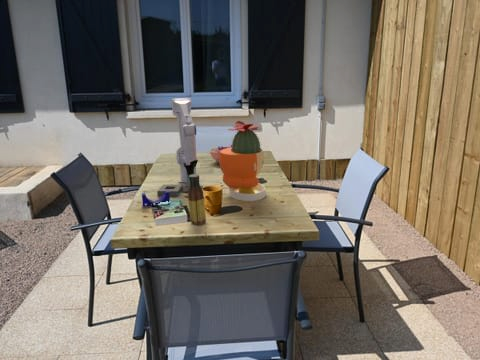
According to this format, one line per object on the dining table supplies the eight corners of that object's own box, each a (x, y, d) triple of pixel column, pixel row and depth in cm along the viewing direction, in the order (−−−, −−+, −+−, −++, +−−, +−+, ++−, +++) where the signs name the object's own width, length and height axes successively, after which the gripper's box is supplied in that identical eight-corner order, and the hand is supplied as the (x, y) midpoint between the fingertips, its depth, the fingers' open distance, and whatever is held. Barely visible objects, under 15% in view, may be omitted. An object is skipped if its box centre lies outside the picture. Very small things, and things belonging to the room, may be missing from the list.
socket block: (163, 189, 209) (163, 184, 208) (182, 189, 208) (182, 184, 207) (157, 196, 199) (157, 191, 198) (177, 196, 198) (177, 191, 197)
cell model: (211, 159, 268) (210, 142, 265) (242, 159, 267) (241, 142, 264) (208, 166, 252) (207, 148, 249) (241, 165, 251) (240, 147, 248)
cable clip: (168, 201, 192) (167, 189, 190) (170, 204, 188) (169, 191, 186) (142, 204, 188) (141, 192, 187) (143, 207, 184) (142, 195, 182)
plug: (188, 181, 208) (187, 165, 206) (196, 181, 208) (195, 165, 206) (187, 183, 204) (186, 167, 202) (194, 183, 204) (194, 167, 202)
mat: (185, 186, 212) (185, 185, 212) (202, 187, 211) (202, 185, 211) (181, 192, 203) (181, 191, 203) (199, 192, 203) (199, 191, 202)
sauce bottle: (206, 219, 168) (204, 172, 163) (205, 225, 162) (203, 177, 157) (190, 220, 168) (187, 173, 162) (189, 226, 162) (186, 177, 156)
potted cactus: (254, 185, 212) (253, 117, 202) (273, 198, 192) (273, 123, 182) (214, 191, 204) (211, 120, 195) (229, 205, 185) (227, 127, 175)
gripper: (185, 145, 209) (186, 171, 212) (178, 152, 195) (180, 179, 199) (199, 145, 208) (200, 171, 212) (193, 152, 194) (194, 179, 198)
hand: (191, 175), depth 205 cm, fingers closed on plug, 4 cm apart
